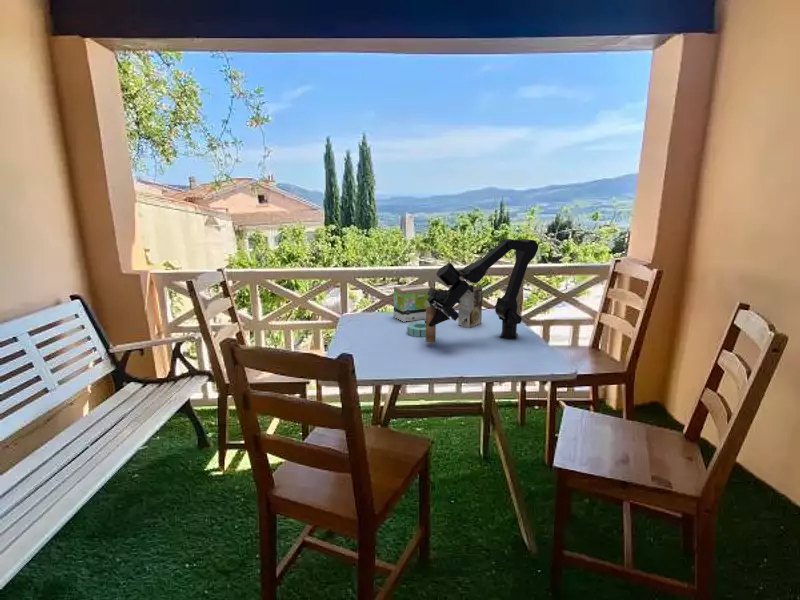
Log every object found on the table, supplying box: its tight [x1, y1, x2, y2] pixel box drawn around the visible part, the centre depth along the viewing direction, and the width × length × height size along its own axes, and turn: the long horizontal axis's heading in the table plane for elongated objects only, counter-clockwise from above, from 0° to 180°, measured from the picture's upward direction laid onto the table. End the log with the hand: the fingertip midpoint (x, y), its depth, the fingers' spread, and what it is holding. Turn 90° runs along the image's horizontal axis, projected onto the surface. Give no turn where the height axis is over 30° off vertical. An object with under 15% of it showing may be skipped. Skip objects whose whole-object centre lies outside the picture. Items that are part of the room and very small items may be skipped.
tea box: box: [393, 283, 431, 323], centre depth 210 cm, size 15×10×15 cm
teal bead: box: [406, 321, 426, 338], centre depth 188 cm, size 11×11×3 cm
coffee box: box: [457, 286, 483, 328], centre depth 198 cm, size 9×6×16 cm
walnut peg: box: [425, 307, 437, 344], centre depth 171 cm, size 4×4×13 cm
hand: (427, 324), depth 171 cm, fingers closed on walnut peg, 4 cm apart
